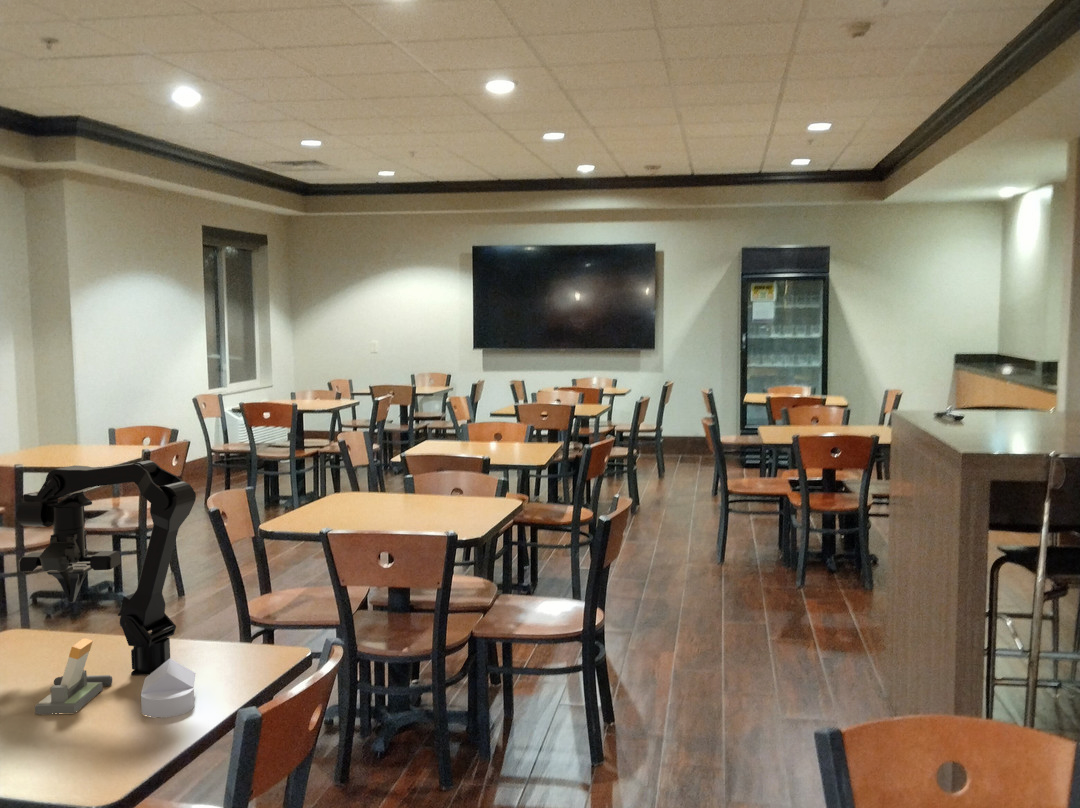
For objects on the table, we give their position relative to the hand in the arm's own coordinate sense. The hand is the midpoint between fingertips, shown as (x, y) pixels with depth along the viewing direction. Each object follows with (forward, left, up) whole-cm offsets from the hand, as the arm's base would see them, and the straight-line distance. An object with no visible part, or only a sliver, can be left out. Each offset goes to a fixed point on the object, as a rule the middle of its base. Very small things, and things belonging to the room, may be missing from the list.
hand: (72, 602), depth 207 cm
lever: (-9, +22, -10) cm, 26 cm away
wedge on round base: (-28, +24, -13) cm, 39 cm away
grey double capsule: (-8, +12, -13) cm, 20 cm away
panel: (-9, +22, -13) cm, 27 cm away
